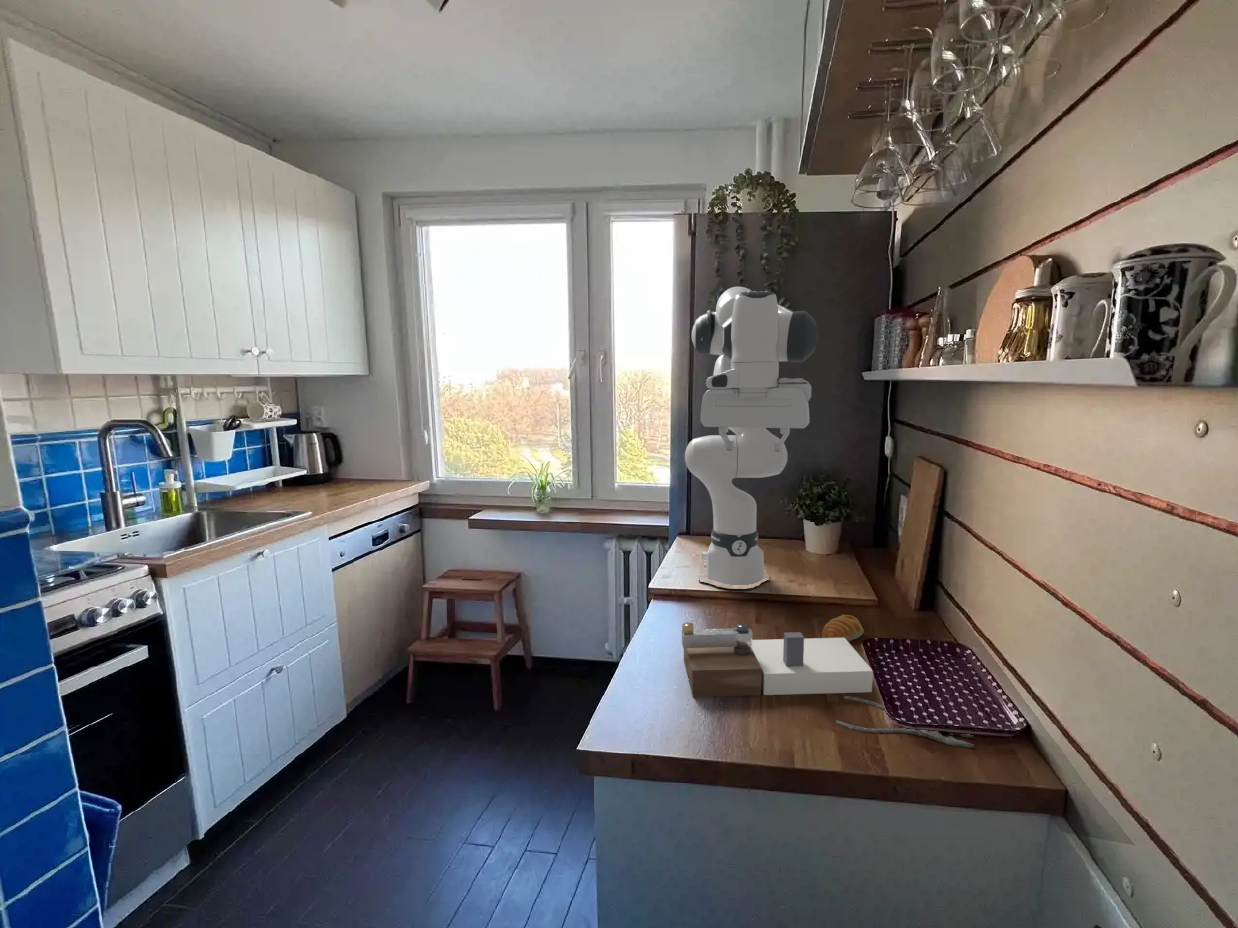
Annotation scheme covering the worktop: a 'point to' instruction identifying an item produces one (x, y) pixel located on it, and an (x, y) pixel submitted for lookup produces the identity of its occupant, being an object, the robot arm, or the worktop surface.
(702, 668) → the jamb block
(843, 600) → the worktop surface
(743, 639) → the lock bar
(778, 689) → the door panel
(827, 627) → the pastry
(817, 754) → the worktop surface
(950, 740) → the pliers
